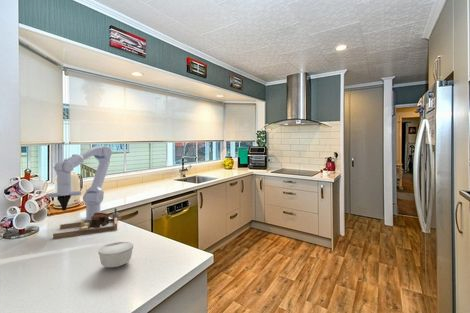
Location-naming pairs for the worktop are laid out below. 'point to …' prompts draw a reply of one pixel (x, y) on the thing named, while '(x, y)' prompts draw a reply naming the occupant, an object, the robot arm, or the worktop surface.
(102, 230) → the wooden frame
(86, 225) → the beige wooden block
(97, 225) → the pottery mug
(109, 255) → the ramekin
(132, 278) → the worktop surface
